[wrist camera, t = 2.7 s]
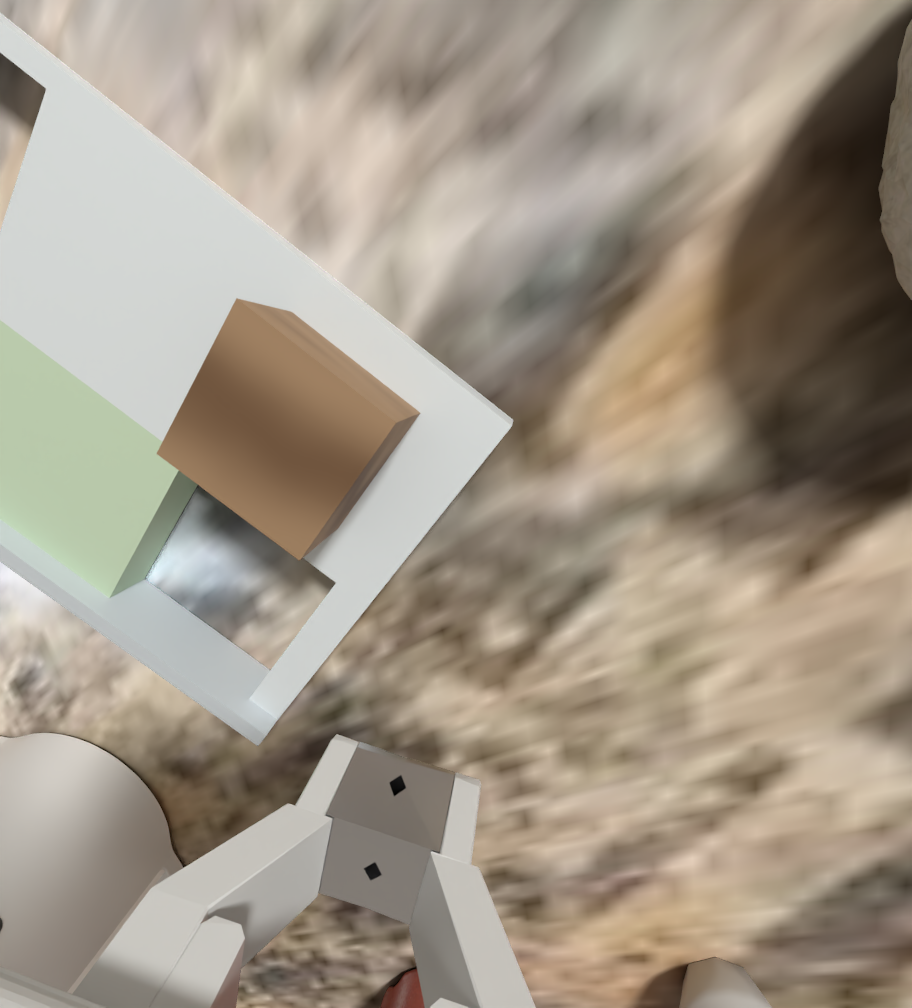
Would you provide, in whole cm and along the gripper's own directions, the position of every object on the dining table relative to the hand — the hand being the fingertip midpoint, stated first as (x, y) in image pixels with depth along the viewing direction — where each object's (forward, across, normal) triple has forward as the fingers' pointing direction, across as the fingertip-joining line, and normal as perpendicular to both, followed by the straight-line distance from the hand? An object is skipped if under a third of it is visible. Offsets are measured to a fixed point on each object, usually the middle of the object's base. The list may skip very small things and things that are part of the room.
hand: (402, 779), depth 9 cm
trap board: (+15, +20, -2) cm, 25 cm away
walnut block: (+13, +8, -4) cm, 16 cm away
